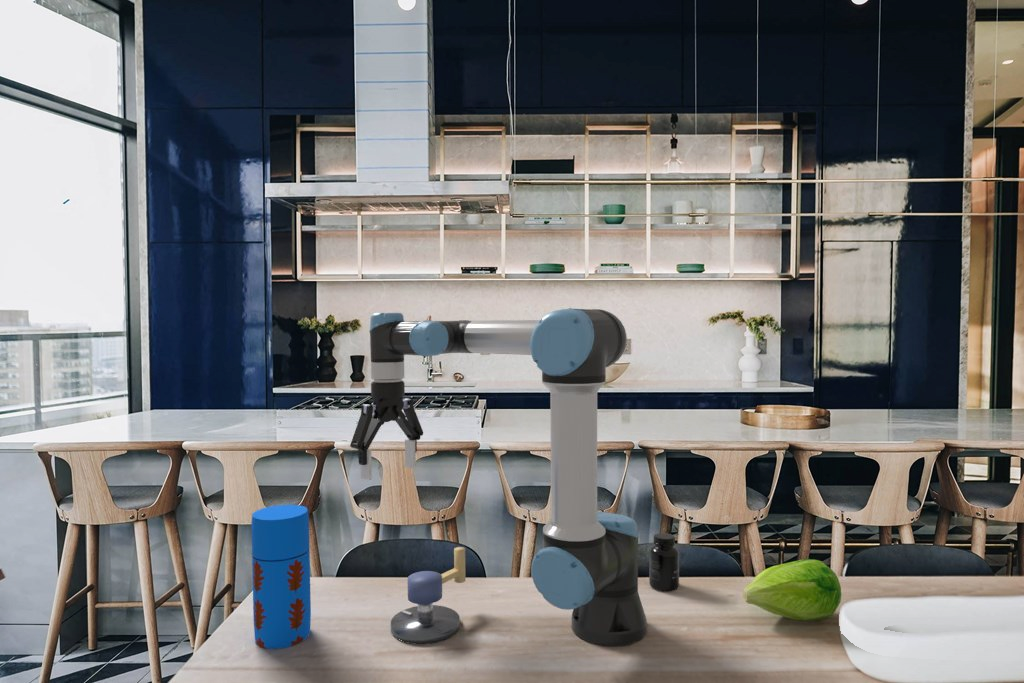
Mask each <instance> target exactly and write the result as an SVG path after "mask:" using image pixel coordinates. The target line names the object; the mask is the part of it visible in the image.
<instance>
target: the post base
mask: <svg viewBox="0 0 1024 683" xmlns="http://www.w3.org/2000/svg"><path fill="white" fill-rule="evenodd" d="M460 618H461V617H460V614H459V613H458V612H457V611H456V610H455V609H452V608H450V607H447V606H444V605H443V606H442V605H437V604H434V603H431V604H417V605H415V606H411V607H409V608H406V609H403V610H400V611H399V612H397V613H396V614H394V616H393V617H392V619H391V620H390V633H391V635H392V634H393V635H392V636H393V637H394V636H395V637H396V638H397V639H396V638H395V637H394V638H395V639H396V640H398V639H400V640H402V641H401V642H403V641H404V643H406V642H409V643H408V644H411V643H418V644H417V645H426V644H425V643H429V644H435V643H439V642H443V641H445V640H447V639H449V638H451V637H453V636H454V635H456V634H457V633H456V632H458V631H459V630H460V626H461V622H460ZM458 629H459V630H458ZM455 633H456V634H455ZM400 640H399V641H400ZM420 643H421V644H420Z"/></svg>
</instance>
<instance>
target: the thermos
mask: <svg viewBox="0 0 1024 683" xmlns="http://www.w3.org/2000/svg"><path fill="white" fill-rule="evenodd" d="M309 517H310V516H309V511H308V508H307V507H306V506H303V505H299V504H279V505H272V506H266V507H264V508H260V509H258V510H256V511H254V512H253V513H252V515H251V561H252V562H251V565H252V569H251V570H252V571H251V572H252V602H253V603H252V604H253V606H252V610H253V628H254V630H253V631H254V641H255V642H254V643H255V644H256V645H257V646H258V647H261V648H264V649H270V650H271V649H272V650H276V649H277V650H278V649H285V648H290V647H294V646H296V645H298V644H300V643H302V642H304V639H305V640H307V638H309V636H310V634H311V623H312V622H311V620H312V619H311V617H312V613H311V612H312V610H311V609H312V607H311V603H312V601H311V599H312V598H311V564H310V562H311V560H310V559H311V558H310V557H311V556H310V549H311V548H310V518H309ZM308 635H309V636H308Z"/></svg>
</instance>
